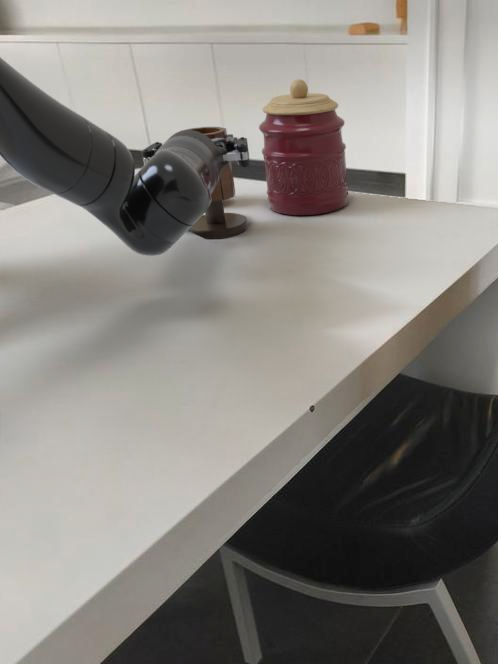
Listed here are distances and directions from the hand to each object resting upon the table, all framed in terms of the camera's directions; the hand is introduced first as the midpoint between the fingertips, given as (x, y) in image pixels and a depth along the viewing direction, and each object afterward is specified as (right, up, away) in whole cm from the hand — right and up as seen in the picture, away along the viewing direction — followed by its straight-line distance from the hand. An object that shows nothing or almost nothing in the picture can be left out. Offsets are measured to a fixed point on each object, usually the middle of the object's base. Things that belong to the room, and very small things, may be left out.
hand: (206, 143), depth 97 cm
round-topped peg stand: (0, -10, +5) cm, 12 cm away
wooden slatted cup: (0, -7, +2) cm, 7 cm away
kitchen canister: (+13, -3, +14) cm, 19 cm away
